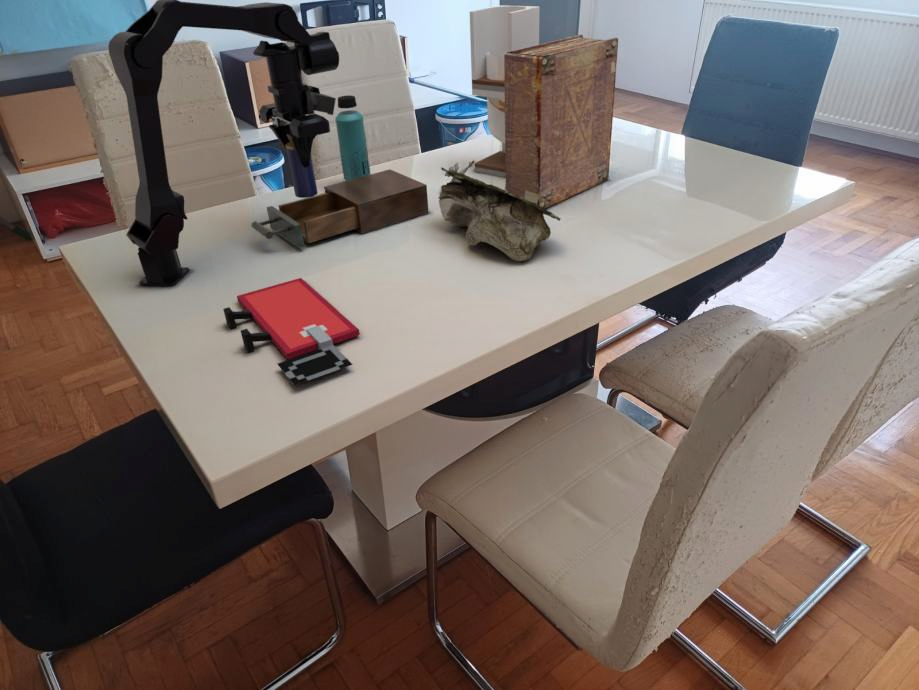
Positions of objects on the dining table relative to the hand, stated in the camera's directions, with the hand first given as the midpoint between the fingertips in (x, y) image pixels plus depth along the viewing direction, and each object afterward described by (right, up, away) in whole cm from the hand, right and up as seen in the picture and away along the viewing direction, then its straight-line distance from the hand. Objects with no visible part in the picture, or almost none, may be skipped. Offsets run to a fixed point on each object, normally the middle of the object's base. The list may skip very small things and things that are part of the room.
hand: (301, 164), depth 131 cm
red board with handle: (+6, -34, -29) cm, 45 cm away
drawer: (+1, -13, +3) cm, 13 cm away
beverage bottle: (+7, +3, +28) cm, 29 cm away
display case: (+42, +8, +33) cm, 54 cm away
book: (+53, -1, +18) cm, 56 cm away
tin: (0, -5, +3) cm, 6 cm away
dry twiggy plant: (+32, -1, +20) cm, 38 cm away
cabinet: (+14, -8, +11) cm, 19 cm away
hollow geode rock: (+37, -15, -2) cm, 40 cm away
